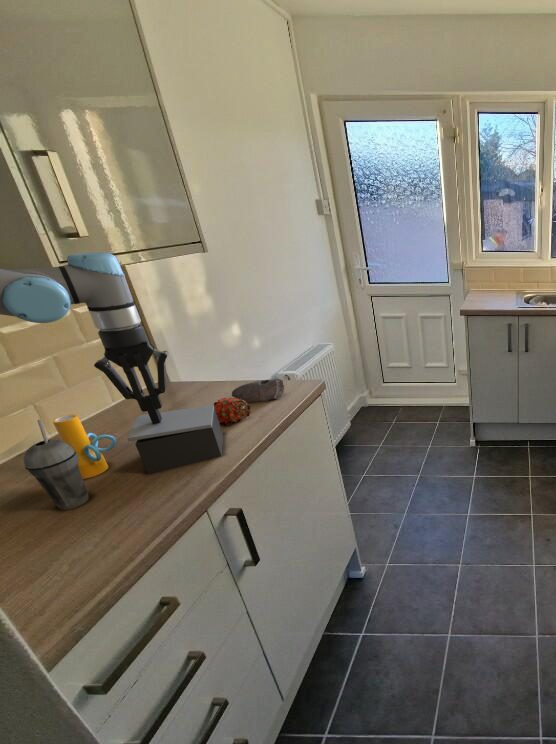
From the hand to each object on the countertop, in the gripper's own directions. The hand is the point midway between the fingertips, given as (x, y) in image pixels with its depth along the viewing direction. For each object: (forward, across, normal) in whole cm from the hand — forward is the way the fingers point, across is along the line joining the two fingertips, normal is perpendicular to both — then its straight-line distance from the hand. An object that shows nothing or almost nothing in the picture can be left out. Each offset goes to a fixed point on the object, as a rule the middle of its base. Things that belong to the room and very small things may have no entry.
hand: (157, 421), depth 100 cm
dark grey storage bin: (+11, -4, 0) cm, 11 cm away
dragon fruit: (+11, -12, -14) cm, 22 cm away
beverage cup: (+11, +16, +11) cm, 22 cm away
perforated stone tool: (+11, -20, -26) cm, 35 cm away
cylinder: (+11, +16, -2) cm, 19 cm away
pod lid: (+1, -3, 0) cm, 3 cm away
